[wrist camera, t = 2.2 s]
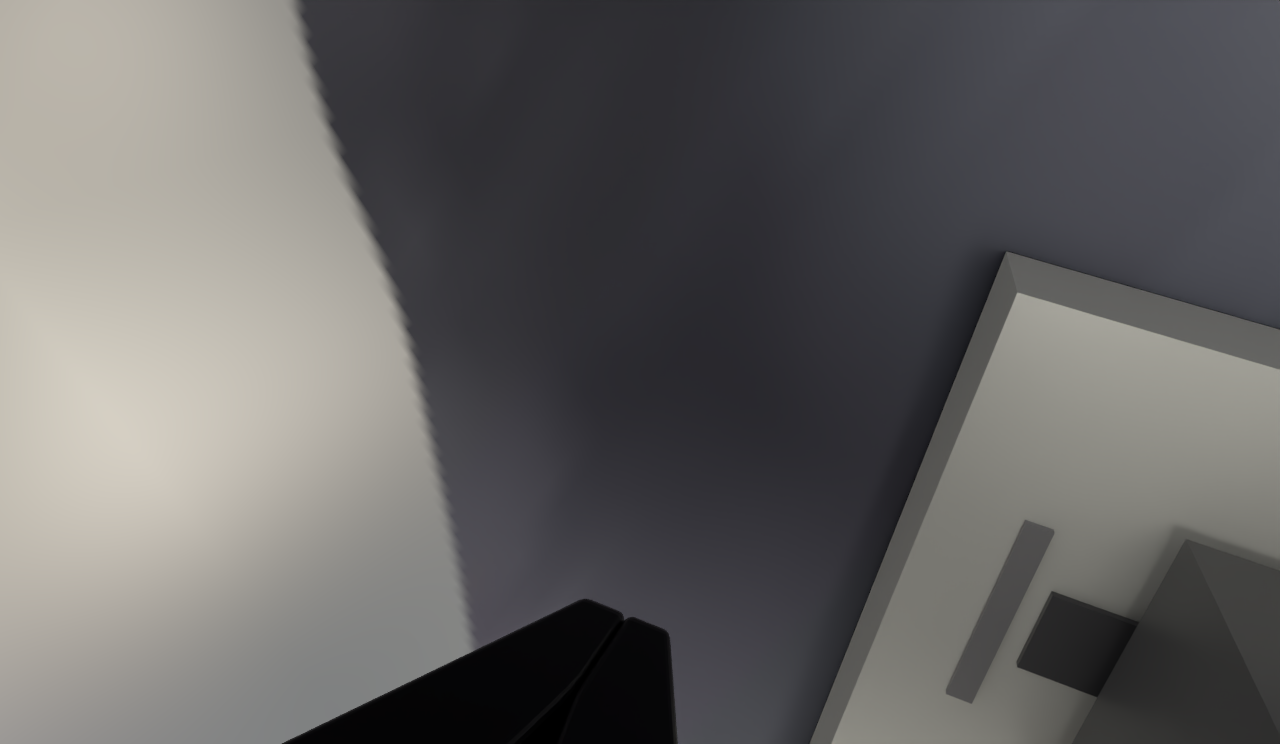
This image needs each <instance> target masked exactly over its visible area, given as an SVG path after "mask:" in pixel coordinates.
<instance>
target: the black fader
mask: <svg viewBox="0 0 1280 744" xmlns="http://www.w3.org/2000/svg"><path fill="white" fill-rule="evenodd" d="M1072 744H1280V570H1277V569H1274V568H1271V567H1268V566H1265V565H1262V564H1259V563H1256V562H1253V561H1250V560H1247V559H1244V558H1241V557H1238V556H1235V555H1232V554H1229V553H1226V552H1223V551H1220V550H1217V549H1214V548H1212V547H1209V546H1206V545H1203V544H1200V543H1197V542H1194V541H1191V540H1188V539H1185V541H1184V543H1183V545H1182V546H1181V548H1180V550H1179V552H1178V554H1177V555H1176V557H1175V559H1174V561H1173V563H1172V564H1171V566H1170V568H1169V570H1168V572H1167V573H1166V575H1165V577H1164V579H1163V581H1162V582H1161V584H1160V586H1159V588H1158V590H1157V591H1156V593H1155V595H1154V597H1153V599H1152V600H1151V602H1150V604H1149V606H1148V608H1147V609H1146V611H1145V613H1144V615H1143V617H1142V618H1141V620H1140V622H1139V624H1138V625H1137V627H1136V629H1135V631H1134V633H1133V634H1132V636H1131V638H1130V640H1129V642H1128V643H1127V645H1126V647H1125V649H1124V651H1123V652H1122V654H1121V656H1120V658H1119V660H1118V661H1117V663H1116V665H1115V667H1114V669H1113V670H1112V672H1111V674H1110V676H1109V678H1108V679H1107V681H1106V683H1105V685H1104V687H1103V688H1102V690H1101V692H1100V694H1099V696H1098V697H1097V699H1096V701H1095V703H1094V704H1093V706H1092V708H1091V710H1090V712H1089V713H1088V715H1087V717H1086V719H1085V721H1084V722H1083V724H1082V726H1081V728H1080V730H1079V731H1078V733H1077V735H1076V737H1075V739H1074V740H1073V742H1072Z"/></svg>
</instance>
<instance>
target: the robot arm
mask: <svg viewBox="0 0 1280 744" xmlns="http://www.w3.org/2000/svg"><path fill="white" fill-rule="evenodd" d="M282 744H678V740H677V727H676V713H675V699H674V686H673V672H672V658H671V645H670V637H669V634H668V632H667V631H666V630H664V629H662V628H660V627H657V626H655V625H652V624H650V623H647V622H645V621H642V620H640V619H637V618H635V617H630V618H627V619H626V620H624V616H623V614H622V613H621V612H620V611H618V610H615V609H613V608H610V607H608V606H605V605H603V604H600V603H598V602H595V601H593V600H589V599H582V600H579V601H577V602H574V603H572V604H570V605H568V606H566V607H564V608H562V609H560V610H558V611H556V612H554V613H552V614H550V615H548V616H545V617H543V618H541V619H539V620H537V621H535V622H533V623H531V624H529V625H527V626H525V627H523V628H521V629H518V630H516V631H514V632H512V633H510V634H508V635H506V636H504V637H502V638H500V639H498V640H496V641H494V642H492V643H489V644H487V645H485V646H483V647H481V648H479V649H477V650H475V651H473V652H471V653H469V654H467V655H465V656H463V657H460V658H458V659H456V660H454V661H452V662H450V663H448V664H446V665H444V666H442V667H440V668H438V669H436V670H433V671H431V672H429V673H427V674H425V675H423V676H421V677H419V678H417V679H415V680H413V681H411V682H409V683H407V684H404V685H402V686H400V687H398V688H396V689H394V690H392V691H390V692H388V693H386V694H384V695H382V696H380V697H378V698H375V699H373V700H371V701H369V702H367V703H365V704H363V705H361V706H359V707H357V708H355V709H353V710H351V711H348V712H347V713H344V714H342V715H340V716H338V717H336V718H334V719H332V720H330V721H328V722H326V723H324V724H322V725H319V726H317V727H315V728H313V729H311V730H309V731H307V732H305V733H303V734H301V735H299V736H297V737H295V738H292V739H290V740H288V741H286V742H284V743H282Z"/></svg>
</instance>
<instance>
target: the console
mask: <svg viewBox="0 0 1280 744" xmlns="http://www.w3.org/2000/svg"><path fill="white" fill-rule="evenodd" d="M1185 539H1188V540H1191V541H1194V542H1197V543H1200V544H1203V545H1206V546H1209V547H1212V548H1214V549H1217V550H1220V551H1223V552H1226V553H1229V554H1232V555H1235V556H1238V557H1241V558H1244V559H1247V560H1250V561H1253V562H1256V563H1259V564H1262V565H1265V566H1268V567H1271V568H1274V569H1277V570H1280V330H1279V329H1276V328H1272V327H1269V326H1265V325H1262V324H1258V323H1255V322H1251V321H1248V320H1244V319H1241V318H1237V317H1234V316H1230V315H1227V314H1223V313H1220V312H1216V311H1213V310H1209V309H1206V308H1202V307H1199V306H1195V305H1192V304H1189V303H1185V302H1182V301H1178V300H1175V299H1171V298H1168V297H1164V296H1161V295H1157V294H1154V293H1150V292H1147V291H1143V290H1140V289H1136V288H1133V287H1129V286H1126V285H1122V284H1119V283H1115V282H1112V281H1108V280H1105V279H1101V278H1098V277H1094V276H1091V275H1087V274H1084V273H1080V272H1077V271H1073V270H1070V269H1066V268H1063V267H1059V266H1056V265H1052V264H1049V263H1045V262H1042V261H1038V260H1035V259H1031V258H1028V257H1024V256H1021V255H1017V254H1014V253H1010V252H1007V251H1006V253H1005V256H1004V258H1003V261H1002V263H1001V266H1000V268H999V271H998V273H997V276H996V278H995V281H994V283H993V286H992V288H991V291H990V293H989V296H988V298H987V301H986V303H985V306H984V308H983V311H982V313H981V316H980V318H979V321H978V323H977V326H976V328H975V331H974V333H973V336H972V338H971V341H970V343H969V346H968V348H967V351H966V353H965V356H964V358H963V361H962V363H961V366H960V368H959V371H958V373H957V376H956V378H955V381H954V383H953V386H952V388H951V391H950V393H949V396H948V398H947V401H946V403H945V406H944V408H943V411H942V413H941V416H940V418H939V421H938V423H937V426H936V428H935V431H934V433H933V436H932V438H931V441H930V443H929V446H928V448H927V451H926V453H925V456H924V458H923V461H922V463H921V466H920V468H919V471H918V473H917V476H916V478H915V481H914V483H913V486H912V488H911V491H910V493H909V496H908V498H907V501H906V503H905V506H904V508H903V511H902V513H901V516H900V518H899V521H898V523H897V526H896V528H895V531H894V533H893V536H892V538H891V541H890V543H889V546H888V548H887V551H886V553H885V556H884V558H883V561H882V563H881V566H880V568H879V571H878V573H877V576H876V578H875V581H874V583H873V586H872V588H871V591H870V593H869V596H868V598H867V601H866V603H865V606H864V609H863V611H862V614H861V616H860V619H859V621H858V624H857V626H856V629H855V631H854V634H853V636H852V639H851V641H850V644H849V646H848V649H847V651H846V654H845V656H844V659H843V661H842V664H841V666H840V669H839V671H838V674H837V676H836V679H835V681H834V684H833V686H832V689H831V691H830V694H829V696H828V699H827V701H826V704H825V706H824V709H823V711H822V714H821V716H820V719H819V721H818V724H817V726H816V729H815V731H814V734H813V736H812V739H811V741H810V744H1072V742H1073V740H1074V739H1075V737H1076V735H1077V733H1078V731H1079V730H1080V728H1081V726H1082V724H1083V722H1084V721H1085V719H1086V717H1087V715H1088V713H1089V712H1090V710H1091V708H1092V706H1093V704H1094V703H1095V701H1096V699H1097V697H1098V696H1099V694H1100V692H1101V690H1102V688H1103V687H1104V685H1105V683H1106V681H1107V679H1108V678H1109V676H1110V674H1111V672H1112V670H1113V669H1114V667H1115V665H1116V663H1117V661H1118V660H1119V658H1120V656H1121V654H1122V652H1123V651H1124V649H1125V647H1126V645H1127V643H1128V642H1129V640H1130V638H1131V636H1132V634H1133V633H1134V631H1135V629H1136V627H1137V625H1138V624H1139V622H1140V620H1141V618H1142V617H1143V615H1144V613H1145V611H1146V609H1147V608H1148V606H1149V604H1150V602H1151V600H1152V599H1153V597H1154V595H1155V593H1156V591H1157V590H1158V588H1159V586H1160V584H1161V582H1162V581H1163V579H1164V577H1165V575H1166V573H1167V572H1168V570H1169V568H1170V566H1171V564H1172V563H1173V561H1174V559H1175V557H1176V555H1177V554H1178V552H1179V550H1180V548H1181V546H1182V545H1183V543H1184V541H1185Z"/></svg>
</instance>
